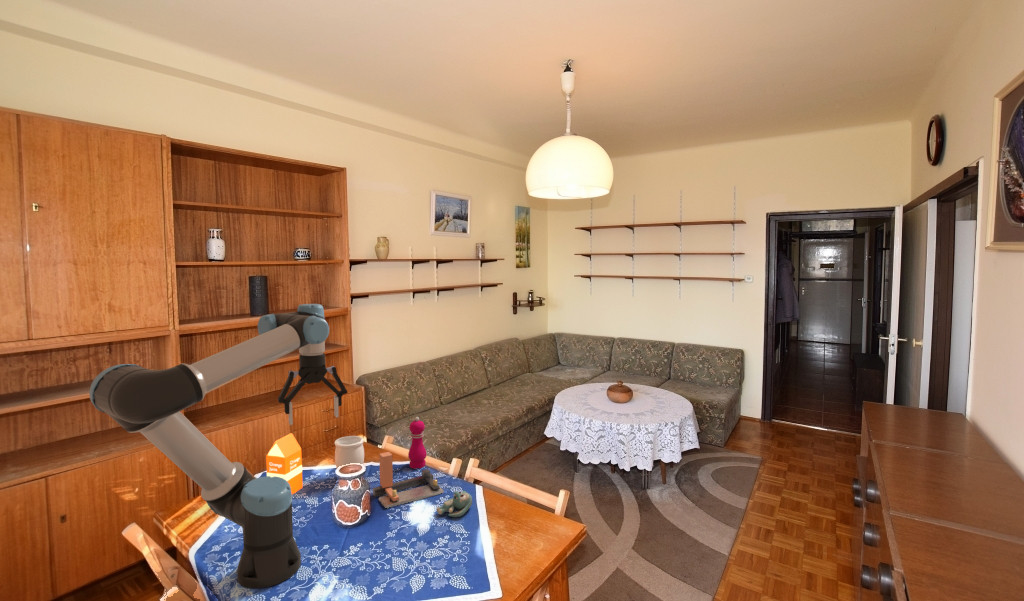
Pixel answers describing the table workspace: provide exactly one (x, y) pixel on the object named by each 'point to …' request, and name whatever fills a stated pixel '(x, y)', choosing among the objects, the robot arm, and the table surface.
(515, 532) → the table surface
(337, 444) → the jar
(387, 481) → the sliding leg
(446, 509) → the stuffed animal
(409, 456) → the pepper mill
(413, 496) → the bolt plate
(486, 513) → the table surface
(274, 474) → the orange juice
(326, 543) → the table surface
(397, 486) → the rail
